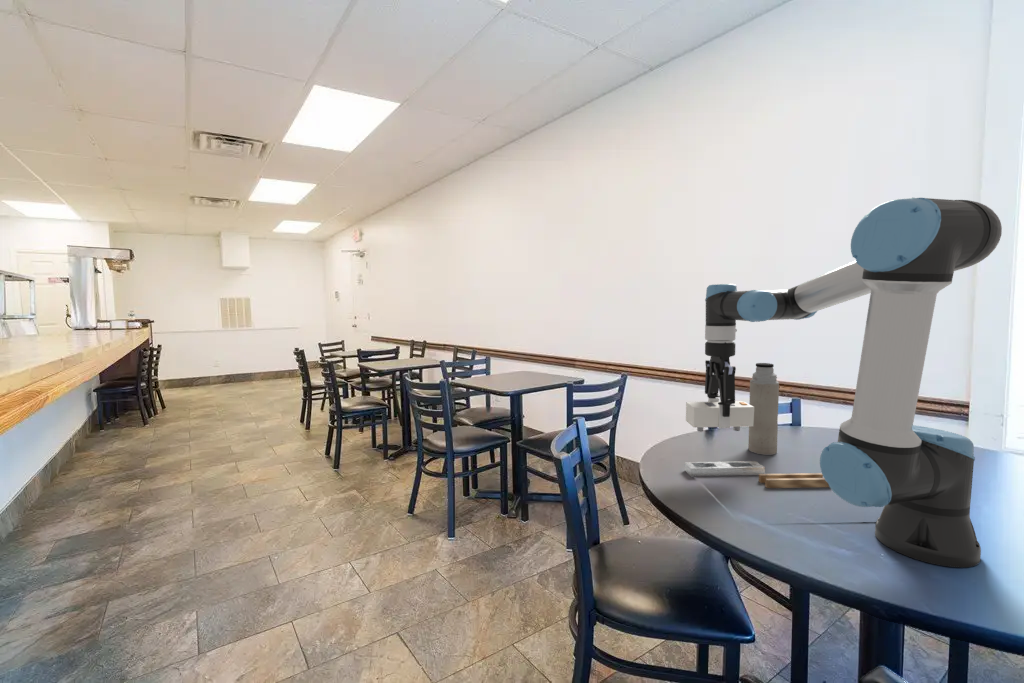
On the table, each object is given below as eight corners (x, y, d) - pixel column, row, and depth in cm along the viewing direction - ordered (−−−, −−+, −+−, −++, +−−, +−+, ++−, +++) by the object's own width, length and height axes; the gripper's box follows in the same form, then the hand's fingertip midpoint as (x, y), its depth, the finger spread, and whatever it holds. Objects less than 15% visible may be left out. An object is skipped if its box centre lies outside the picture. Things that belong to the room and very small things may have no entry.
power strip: (742, 426, 129) (743, 400, 128) (752, 433, 123) (754, 406, 122) (685, 427, 129) (686, 401, 128) (693, 434, 123) (694, 407, 122)
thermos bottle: (768, 446, 148) (770, 361, 145) (782, 454, 140) (785, 365, 137) (743, 446, 148) (745, 362, 146) (756, 455, 140) (758, 365, 138)
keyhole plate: (764, 475, 124) (765, 467, 124) (691, 476, 124) (691, 468, 124) (755, 469, 129) (756, 461, 129) (684, 470, 129) (684, 462, 129)
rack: (820, 481, 119) (820, 473, 119) (830, 488, 115) (831, 479, 115) (758, 482, 120) (758, 473, 119) (767, 489, 115) (767, 480, 115)
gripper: (751, 344, 114) (749, 434, 116) (718, 337, 133) (717, 415, 135) (721, 345, 114) (719, 434, 116) (693, 338, 133) (691, 415, 135)
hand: (718, 424), depth 125 cm, fingers closed on power strip, 6 cm apart
